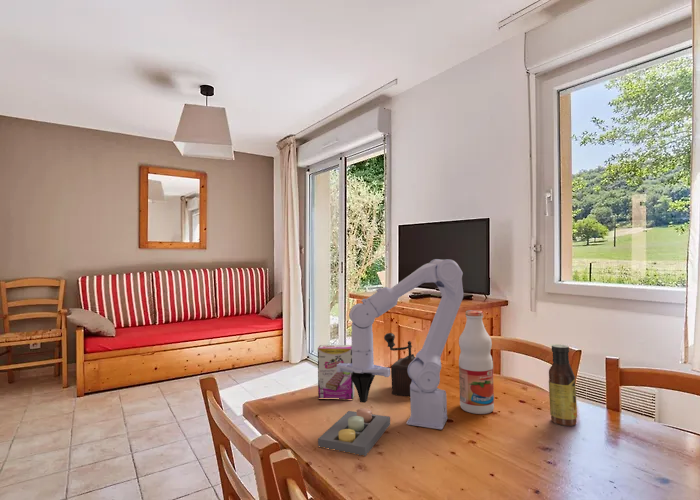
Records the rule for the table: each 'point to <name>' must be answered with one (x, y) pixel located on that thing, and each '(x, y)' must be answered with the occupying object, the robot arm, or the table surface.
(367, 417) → the terracotta button
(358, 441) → the panel
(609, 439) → the table surface
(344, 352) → the candy bar box
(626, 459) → the table surface
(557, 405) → the sauce bottle
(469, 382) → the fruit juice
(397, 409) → the table surface
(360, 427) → the sage button
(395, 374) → the dark brown coffee grinder
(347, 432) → the mustard button
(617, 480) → the table surface
